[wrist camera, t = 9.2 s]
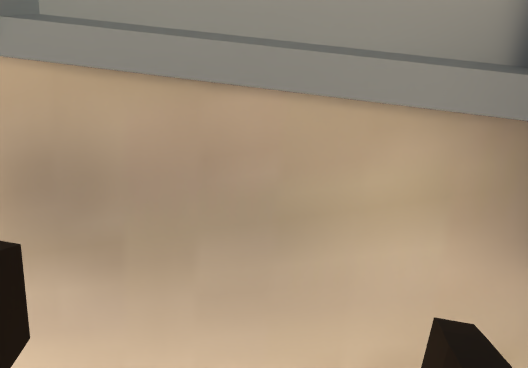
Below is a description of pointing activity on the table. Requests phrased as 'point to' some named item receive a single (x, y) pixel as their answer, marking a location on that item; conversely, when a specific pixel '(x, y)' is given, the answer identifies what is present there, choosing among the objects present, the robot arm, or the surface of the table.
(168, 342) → the table surface
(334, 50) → the caddy
